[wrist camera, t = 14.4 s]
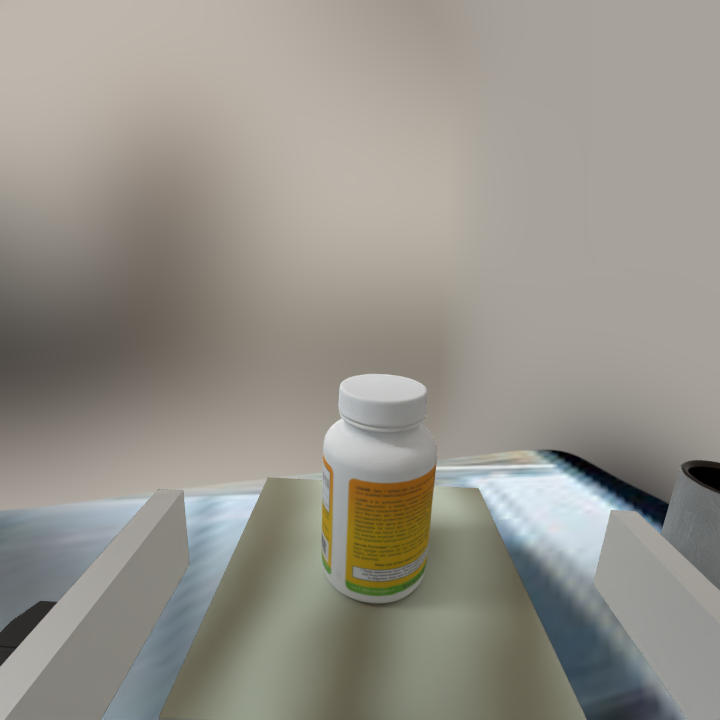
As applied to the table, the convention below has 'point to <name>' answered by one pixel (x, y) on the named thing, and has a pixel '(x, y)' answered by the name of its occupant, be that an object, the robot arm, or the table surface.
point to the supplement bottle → (377, 489)
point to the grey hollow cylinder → (696, 517)
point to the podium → (370, 629)
